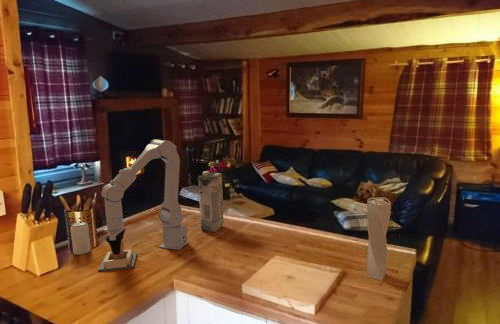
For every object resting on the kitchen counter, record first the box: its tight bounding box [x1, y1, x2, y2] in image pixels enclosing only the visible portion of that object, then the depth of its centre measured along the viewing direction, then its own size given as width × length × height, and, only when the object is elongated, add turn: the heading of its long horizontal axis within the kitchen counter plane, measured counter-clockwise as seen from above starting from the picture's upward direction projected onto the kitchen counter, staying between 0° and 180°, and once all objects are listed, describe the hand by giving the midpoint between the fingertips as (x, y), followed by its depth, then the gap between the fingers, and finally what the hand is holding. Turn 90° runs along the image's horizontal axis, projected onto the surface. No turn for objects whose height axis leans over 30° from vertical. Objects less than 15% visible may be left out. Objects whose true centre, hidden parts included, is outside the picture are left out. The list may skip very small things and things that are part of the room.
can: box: [70, 220, 91, 256], centre depth 147 cm, size 6×6×12 cm
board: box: [98, 249, 138, 272], centre depth 137 cm, size 12×12×3 cm
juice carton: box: [197, 170, 224, 233], centre depth 168 cm, size 9×10×27 cm
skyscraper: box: [365, 196, 392, 282], centre depth 120 cm, size 8×8×28 cm
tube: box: [110, 235, 125, 260], centre depth 136 cm, size 4×4×8 cm
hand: (117, 251), depth 137 cm, fingers closed on tube, 4 cm apart
